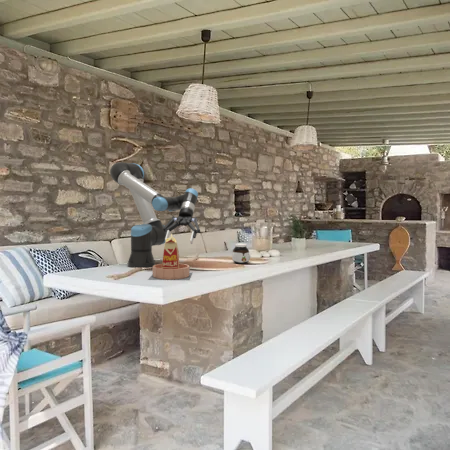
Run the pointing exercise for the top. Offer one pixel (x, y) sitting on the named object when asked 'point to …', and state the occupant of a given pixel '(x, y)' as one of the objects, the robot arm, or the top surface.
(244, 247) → the spread jar
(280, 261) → the top surface
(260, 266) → the top surface
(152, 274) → the placemat
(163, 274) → the bowl
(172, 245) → the milk carton
